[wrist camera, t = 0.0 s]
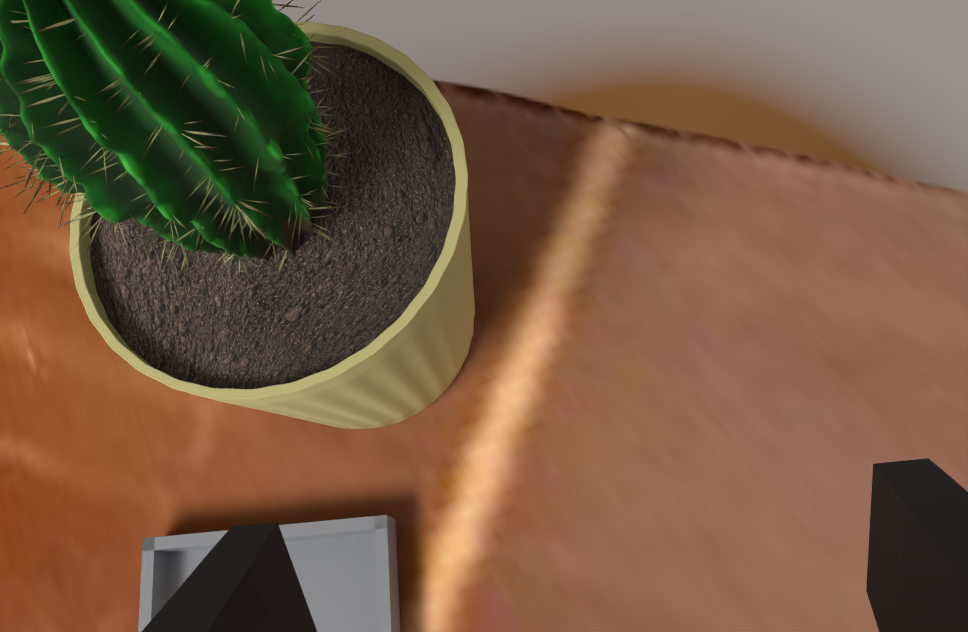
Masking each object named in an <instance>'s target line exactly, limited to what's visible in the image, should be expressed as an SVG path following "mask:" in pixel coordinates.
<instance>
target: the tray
mask: <svg viewBox="0 0 968 632" xmlns="http://www.w3.org/2000/svg"><path fill="white" fill-rule="evenodd" d="M279 527H280V530H281V533H282V536H283V538H284V541H285V544H286V547H287V549H288V552H289V555H290V558H291V560H292V563H293V566H294V569H295V572H296V574H297V577H298V580H299V583H300V585H301V588H302V591H303V594H304V596H305V599H306V602H307V605H308V607H309V610H310V613H311V616H312V618H313V621H314V624H315V627H316V629H317V632H401V625H400V601H399V576H398V552H397V528H396V519H395V518H392V517H390V516H388V515H379V516H369V517H358V518H348V519H338V520H327V521H317V522H307V523H297V524H286V525H279ZM227 531H228V530H224V531H214V532H204V533H194V534H183V535H173V536H163V537H152V538H143V549H142V568H141V588H140V608H139V628H138V632H142V630H143V629H144V628H145V627H146V626H147V625H148V624H149V622H150V621H151V620H152V619H153V618H154V617H155V615H156V614H157V613H158V612H159V611H160V610H161V609H162V607H163V606H164V605H165V604H166V603H167V602H168V600H169V599H170V598H171V597H172V596H173V595H174V593H175V592H176V591H177V590H178V589H179V587H180V586H181V585H182V584H183V583H184V582H185V580H186V579H187V578H188V577H189V576H190V574H191V573H192V572H193V571H194V570H195V568H196V567H197V566H198V565H199V564H200V563H201V561H202V560H203V559H204V558H205V557H206V555H207V554H208V553H209V552H210V551H211V550H212V548H213V547H214V546H215V545H216V544H217V543H218V541H219V540H220V539H221V538H222V537H223V536H224V535H225V534H226V532H227Z"/></svg>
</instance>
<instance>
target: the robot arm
mask: <svg viewBox="0 0 968 632" xmlns="http://www.w3.org/2000/svg"><path fill="white" fill-rule="evenodd" d="M866 591H867V594H868V597H869V600H870V604H871V607H872V610H873V613H874V616H875V619H876V623H877V626H878V629H879V632H968V492H967V491H966V490H965V489H964V488H963V487H962V486H960V485H959V484H958V483H957V482H956V481H955V480H953V479H952V478H951V477H950V476H949V475H948V474H946V473H945V472H944V471H943V470H942V469H941V468H939V467H938V466H937V465H936V464H934V463H933V462H932V461H931V460H930V459H918V460H908V461H897V462H887V463H877V464H873V478H872V497H871V515H870V534H869V552H868V571H867V589H866ZM142 632H317V629H316V627H315V624H314V621H313V618H312V616H311V613H310V610H309V607H308V605H307V602H306V599H305V596H304V594H303V591H302V588H301V585H300V583H299V580H298V577H297V574H296V572H295V569H294V566H293V563H292V560H291V558H290V555H289V552H288V549H287V547H286V544H285V541H284V538H283V536H282V533H281V530H280V527H279V525H278V522H276V523H266V524H255V525H245V526H235V527H231V528H230V529H229V530H228V531H227V532H226V534H225V535H224V536H223V537H222V538H221V539H220V540H219V541H218V543H217V544H216V545H215V546H214V547H213V548H212V550H211V551H210V552H209V553H208V554H207V555H206V557H205V558H204V559H203V560H202V561H201V563H200V564H199V565H198V566H197V567H196V568H195V570H194V571H193V572H192V573H191V574H190V576H189V577H188V578H187V579H186V580H185V582H184V583H183V584H182V585H181V586H180V587H179V589H178V590H177V591H176V592H175V593H174V595H173V596H172V597H171V598H170V599H169V600H168V602H167V603H166V604H165V605H164V606H163V607H162V609H161V610H160V611H159V612H158V613H157V614H156V615H155V617H154V618H153V619H152V620H151V621H150V622H149V624H148V625H147V626H146V627H145V628H144V629H143V630H142Z"/></svg>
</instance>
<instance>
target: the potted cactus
mask: <svg viewBox="0 0 968 632" xmlns="http://www.w3.org/2000/svg"><path fill="white" fill-rule="evenodd" d="M292 1H293V0H292ZM289 3H291V1H290V2H289ZM289 3H288V4H289ZM318 3H319V2H318ZM288 4H286V5H283V4H273V3H272V1H271V0H0V133H1V134H2V135H3V136H4V138H2V139H3V140H2V139H1V140H2V142H0V145H10V148H12V149H14V150H15V151H17V153H18V152H19V153H20V154H22V156H23V158H24V160H25V161H26V162H27V163H28V164H30V165H32V166H33V167H32V169H31V168H26V169H31V172H30V175H29V176H24V177H29V178H28V179H26V180H27V183H28V181H29V179H32V178H30V177H31V176H36V175H37V176H36V179H37V177H38V176H39V177H40V178H41V179H42V180H43V181H42V182H41V184H40V183H39V184H40V185H39V187H38V189H37V191H36V193H35V195H34V197H33V199H32V200H31V202H30V204H31V203H32V201H33V200H34V198H35V197H36V195H37V193H38V192H39V190H40V188H41V187H42V185H43V184H44V182H49V183H50V184H49V190H48V191H49V195H48V196H46V197H45V198H47V197H50V196H52V195H53V194H55V193H57V192H59V191H60V190H61V191H62V192H61V195H60V197H59V199H60V200H61V197H62V195H63V193H66V194H67V195H66V196H65V199H64V201H63V203H64V204H63V203H60V204H63V205H61V206H63V208H62V215H63V210H64V205H65V200H66V199H67V196H68V195H69V193H73V194H72V196H71V197H70V200H69V202H66V203H68V204H70V201H71V199H72V197H73V195H74V193H76V195H75V196H74V197H75V200H74V201H71V202H72V203H74V204H73V208H72V213H71V221H69V222H67V223H70V258H71V263H72V268H73V274H74V280H75V284H76V288H77V291H78V294H79V296H80V298H81V300H82V302H83V305H84V307H85V310H86V312H87V314H88V317H89V318H90V320H91V322H92V323H93V325H94V326H95V327H96V329H97V330H98V331H99V333H100V334H101V335H102V337H103V338H104V339H105V341H106V342H107V344H108V345H109V346H110V347H111V348H112V349H113V350H114V351H115V352H116V353H117V354H118V355H120V356H121V357H122V358H123V359H125V360H126V361H127V362H128V363H129V364H131V365H132V366H133V367H134V368H135V369H137V370H138V371H139V372H141V373H143V374H145V375H147V376H149V377H151V378H153V379H155V380H157V381H159V382H161V383H163V384H165V385H167V386H169V387H171V388H173V389H176V390H180V391H184V392H188V393H190V394H193V395H196V396H200V397H206V398H210V399H214V400H218V401H221V402H225V403H229V404H234V405H239V406H244V407H249V408H254V409H258V410H263V411H267V412H272V413H276V414H281V415H285V416H290V417H294V418H298V419H303V420H307V421H312V422H316V423H320V424H325V425H329V426H334V427H338V428H342V429H349V428H351V429H364V430H366V429H371V428H377V427H383V426H389V425H391V424H394V423H397V422H400V421H402V420H405V419H407V418H409V417H411V416H413V415H415V414H417V413H418V412H420V411H422V410H423V409H425V408H426V407H428V406H429V405H430V404H431V403H433V402H434V401H435V400H436V399H437V398H438V397H439V396H440V395H441V394H442V393H443V392H444V391H445V390H446V389H447V388H448V387H449V385H450V384H451V383H452V381H453V380H454V379H455V377H456V376H457V374H458V373H459V371H460V369H461V367H462V365H463V363H464V361H465V359H466V357H467V355H468V352H469V348H470V344H471V340H472V337H473V334H474V316H475V302H474V287H473V272H472V257H471V242H470V226H469V207H468V191H467V188H468V171H467V164H466V158H465V150H464V143H463V139H462V136H461V133H460V131H459V128H458V126H457V123H456V121H455V118H454V115H453V112H452V110H451V108H450V106H449V104H448V103H447V101H446V100H445V98H444V97H443V95H442V94H441V93H440V91H439V90H438V88H437V86H436V85H435V83H434V82H433V81H432V79H431V78H430V77H429V76H428V75H427V74H426V73H425V72H424V71H423V70H421V69H420V68H419V67H418V66H417V65H416V64H415V63H414V62H413V61H412V60H411V59H410V58H409V57H407V56H406V55H405V54H403V53H402V52H400V51H398V50H396V49H395V48H393V47H391V46H390V45H388V44H386V43H385V42H383V41H381V40H379V39H377V38H375V37H373V36H370V35H367V34H364V33H361V32H358V31H355V30H352V29H349V28H346V27H342V26H336V25H328V24H321V23H313V22H307V21H308V20H309V19H308V20H307V21H305V22H292V20H291V19H290V18H289V17H288V16H286V15H285V14H283V13H281V12H279V11H280V10H281V9H283V8H284V7H297V6H290V5H288ZM274 5H278V6H284V7H282V8H281V9H280V10H279V11H277V10H276V9H275V8H274ZM312 8H313V7H312ZM312 8H311V9H312ZM311 9H310V10H311ZM310 10H309V11H310ZM309 11H307V12H306V13H305V14H304V15H303V16H305V15H306V14H307V13H308V12H309ZM303 16H302V17H303ZM302 17H301V18H302ZM301 18H300V19H301ZM300 19H299V20H300ZM2 135H1V136H2ZM5 138H6V139H7V141H8V143H3V141H4V139H5ZM1 140H0V141H1ZM10 148H9V147H7V149H4V150H1V151H0V152H1V153H3V152H4V151H5V150H8V149H9V150H10ZM1 153H0V154H1ZM17 153H16V154H17ZM16 154H14V155H13V156H15V155H16ZM13 156H12V157H13ZM12 157H11V158H12ZM11 158H10V159H11ZM10 159H9V160H10ZM21 161H22V160H21ZM21 161H19V162H21ZM6 162H7V161H6ZM6 162H5V163H6ZM19 162H17V163H19ZM5 163H4V164H5ZM17 163H15V164H17ZM15 164H13V165H15ZM24 164H25V163H24ZM13 165H11V166H13ZM20 165H21V164H20ZM11 166H10V167H11ZM17 167H19V166H17ZM35 167H36V168H37V169H38V170H37V171H38V172H39V173H32V172H33V170H36V169H34V168H35ZM8 168H9V167H8ZM22 168H25V167H22ZM6 169H7V168H6ZM4 170H5V169H4ZM26 173H29V172H26ZM31 174H36V175H31ZM18 178H21V177H18ZM33 178H35V177H33ZM36 179H35V181H36ZM26 180H22V181H19V182H16V183H14V184H17V183H20V182H23V181H26ZM35 181H34V183H33V184H32V185H30V186H29V187H31V186H32V187H33V185H34V184H35V183H36V182H38V181H39V180H38V181H36V182H35ZM27 183H26V185H27ZM51 183H53V184H55V185H52V186H54V187H53V188H51ZM14 184H11V185H14ZM11 185H8V186H11ZM8 186H5V187H8ZM5 187H3V188H5ZM25 187H26V186H25ZM29 187H27V188H26V189H28V188H29ZM32 187H31V188H32ZM56 187H58V188H59V189H60V190H59V191H56V192H54V193H52V194H50V190H52V189H54V188H56ZM50 188H51V189H50ZM0 189H1V188H0ZM24 189H25V188H24ZM26 189H25V190H26ZM25 190H23V191H25ZM23 191H22V192H23ZM48 191H46V192H48ZM22 192H21V193H22ZM46 192H45V193H46ZM19 194H20V193H19ZM19 194H18V195H19ZM43 194H44V193H43ZM15 197H16V196H15ZM68 197H69V196H68ZM45 198H43V199H45ZM43 199H41V200H43ZM41 200H39V201H41ZM60 200H58V202H60ZM39 201H37V202H39ZM30 204H29V205H28V207H29V206H30ZM57 204H58V205H59V203H57ZM68 204H67V206H68ZM56 206H57V205H56ZM67 206H66V208H67ZM28 207H27V208H28ZM57 207H58V206H57ZM26 210H27V209H26ZM26 210H25V211H26ZM65 210H66V209H65ZM24 213H25V212H24ZM62 215H61V220H62ZM67 223H65V224H67ZM62 225H64V224H62ZM62 225H61V222H60V226H62ZM58 227H59V226H58ZM59 229H60V228H59Z"/></svg>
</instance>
